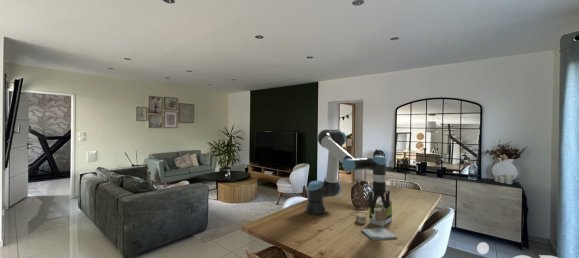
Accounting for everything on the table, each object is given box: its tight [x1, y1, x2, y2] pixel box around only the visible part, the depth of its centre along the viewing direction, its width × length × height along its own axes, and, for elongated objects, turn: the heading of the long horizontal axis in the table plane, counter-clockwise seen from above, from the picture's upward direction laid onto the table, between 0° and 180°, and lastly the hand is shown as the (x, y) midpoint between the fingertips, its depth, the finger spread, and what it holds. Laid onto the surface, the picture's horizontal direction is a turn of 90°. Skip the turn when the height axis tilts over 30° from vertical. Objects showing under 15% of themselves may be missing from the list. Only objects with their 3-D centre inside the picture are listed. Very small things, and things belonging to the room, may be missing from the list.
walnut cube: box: [375, 208, 386, 221], centre depth 155 cm, size 6×6×6 cm
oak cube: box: [355, 213, 367, 225], centre depth 175 cm, size 5×5×5 cm
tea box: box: [368, 197, 393, 227], centre depth 176 cm, size 15×10×15 cm
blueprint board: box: [360, 226, 398, 241], centre depth 155 cm, size 14×16×1 cm
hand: (378, 218), depth 155 cm, fingers closed on walnut cube, 6 cm apart
